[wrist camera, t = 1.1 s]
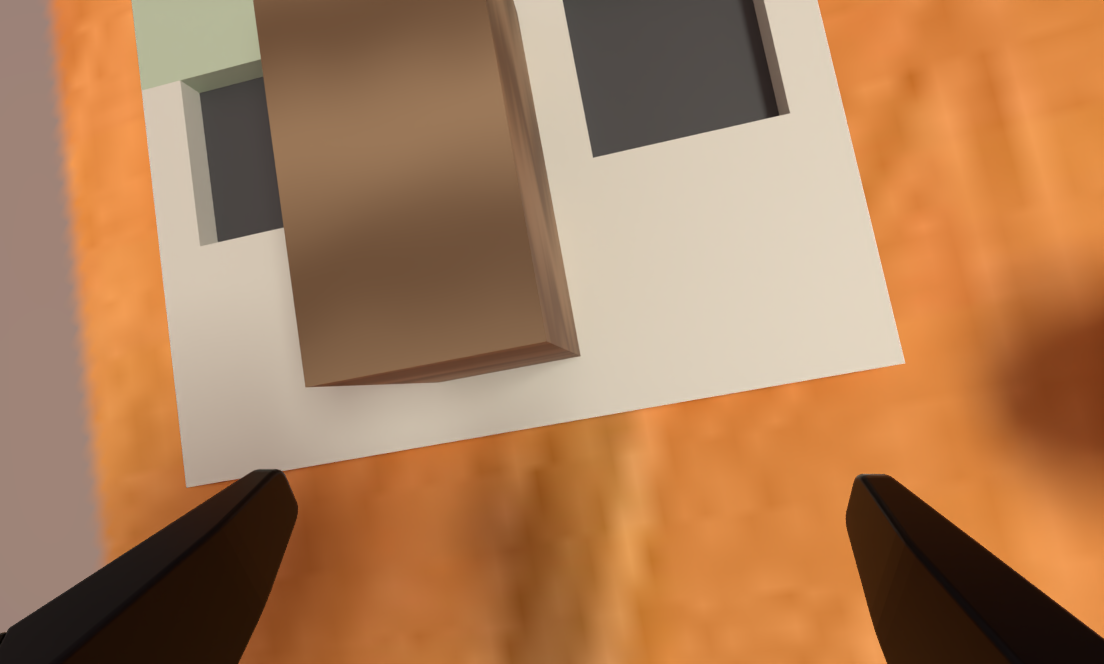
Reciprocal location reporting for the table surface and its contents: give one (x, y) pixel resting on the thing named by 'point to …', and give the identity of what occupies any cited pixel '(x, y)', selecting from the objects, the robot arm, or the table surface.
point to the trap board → (581, 217)
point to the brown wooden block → (412, 190)
